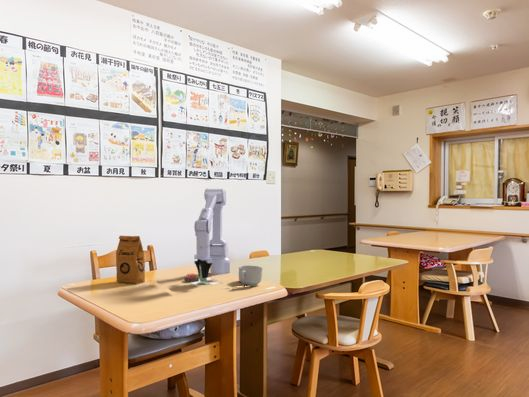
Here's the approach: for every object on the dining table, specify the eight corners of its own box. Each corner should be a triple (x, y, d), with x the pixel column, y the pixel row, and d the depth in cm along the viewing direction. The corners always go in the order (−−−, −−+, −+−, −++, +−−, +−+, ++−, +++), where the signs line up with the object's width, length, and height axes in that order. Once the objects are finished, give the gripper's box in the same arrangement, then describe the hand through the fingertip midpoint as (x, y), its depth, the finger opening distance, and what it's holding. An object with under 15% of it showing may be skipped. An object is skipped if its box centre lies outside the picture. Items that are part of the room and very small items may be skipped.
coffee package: (135, 285, 176) (134, 237, 175) (113, 283, 180) (112, 236, 180) (148, 281, 185) (148, 234, 185) (127, 279, 189) (127, 234, 189)
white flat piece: (209, 279, 187) (209, 273, 187) (224, 285, 174) (224, 279, 174) (183, 283, 179) (183, 277, 179) (197, 289, 167) (197, 283, 167)
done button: (193, 277, 180) (193, 273, 180) (195, 278, 178) (195, 274, 178) (187, 278, 179) (187, 274, 179) (189, 279, 176) (189, 275, 176)
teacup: (248, 281, 184) (248, 264, 184) (267, 283, 177) (267, 266, 177) (229, 286, 172) (229, 268, 172) (248, 290, 166) (248, 271, 166)
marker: (205, 279, 174) (204, 264, 174) (208, 280, 172) (208, 265, 172) (198, 280, 173) (198, 264, 173) (201, 281, 170) (201, 265, 170)
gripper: (188, 245, 176) (188, 275, 176) (201, 249, 164) (201, 281, 164) (202, 244, 180) (202, 273, 180) (216, 247, 168) (216, 279, 168)
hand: (203, 277), depth 172 cm, fingers closed on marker, 3 cm apart
